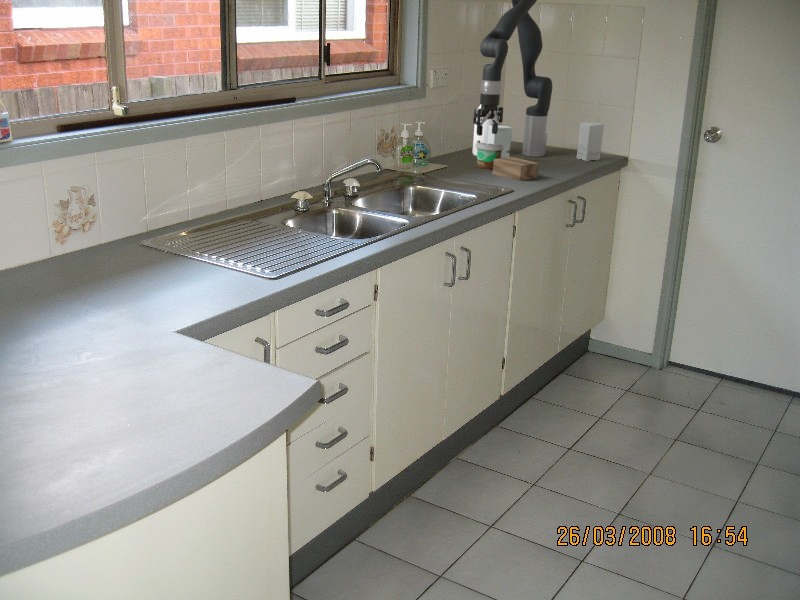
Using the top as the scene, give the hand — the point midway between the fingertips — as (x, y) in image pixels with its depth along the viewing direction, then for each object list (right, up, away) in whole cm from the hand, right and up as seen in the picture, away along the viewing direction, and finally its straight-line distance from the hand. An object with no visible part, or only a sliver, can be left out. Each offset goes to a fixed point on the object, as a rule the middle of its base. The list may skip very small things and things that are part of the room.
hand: (486, 134), depth 343 cm
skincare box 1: (+6, -8, +18) cm, 20 cm away
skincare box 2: (+46, -5, +32) cm, 57 cm away
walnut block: (+10, -17, -6) cm, 21 cm away
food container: (-1, -13, +5) cm, 14 cm away
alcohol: (+1, -3, +31) cm, 31 cm away
